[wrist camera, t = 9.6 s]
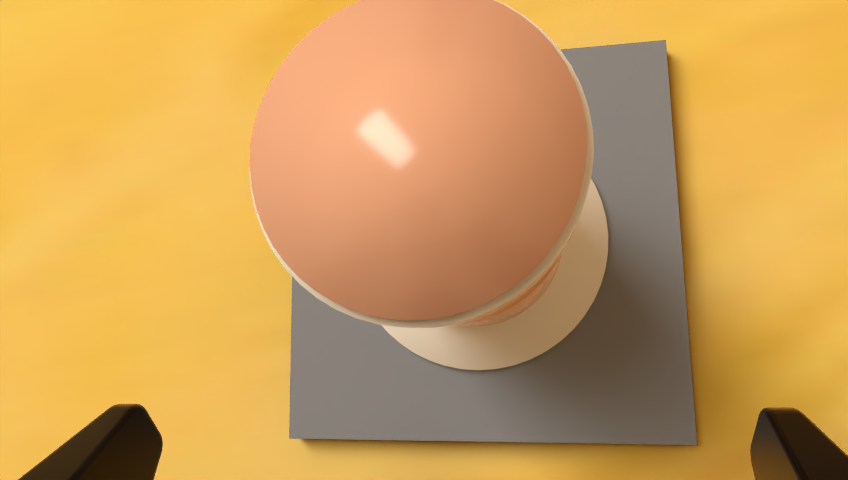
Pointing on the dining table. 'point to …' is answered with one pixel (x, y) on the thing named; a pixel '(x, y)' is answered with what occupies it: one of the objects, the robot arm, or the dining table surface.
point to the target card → (538, 313)
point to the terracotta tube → (423, 161)
